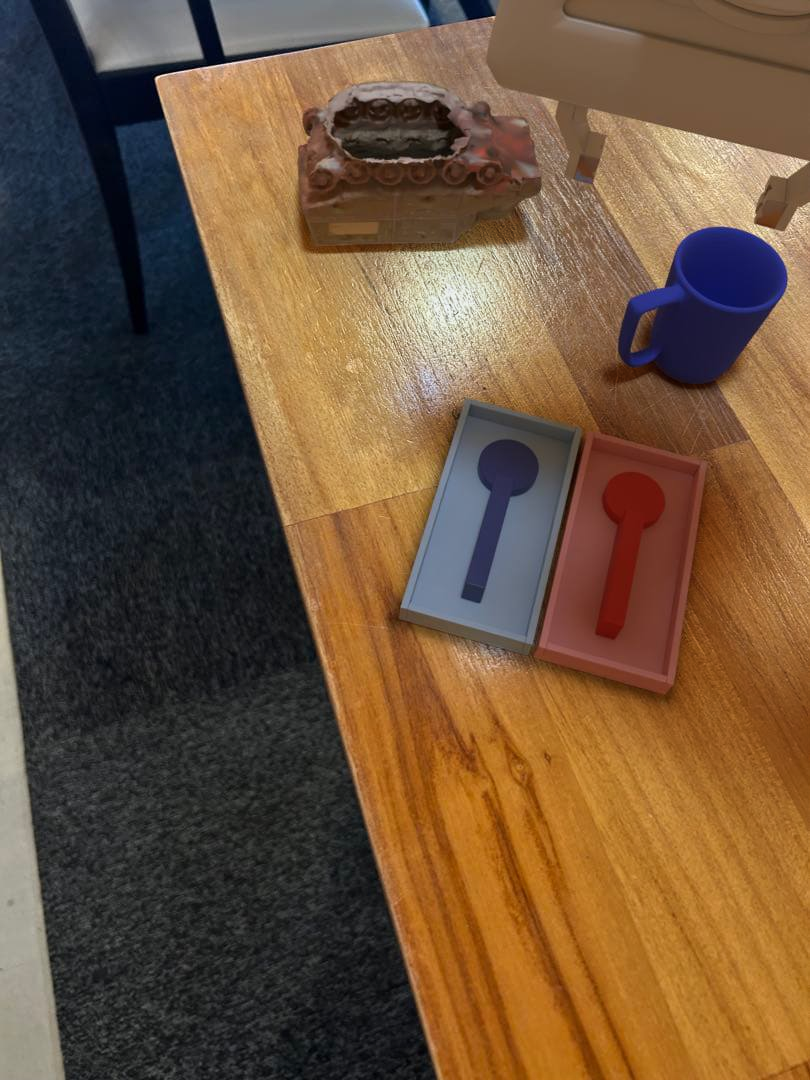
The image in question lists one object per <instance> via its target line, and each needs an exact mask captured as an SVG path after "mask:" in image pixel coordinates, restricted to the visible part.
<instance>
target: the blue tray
mask: <svg viewBox="0 0 810 1080" xmlns="http://www.w3.org/2000/svg"><path fill="white" fill-rule="evenodd" d="M455 427H456V428H455V431H454V434H453V437H452V441H451V443H450V447H449V450H448V453H447V456H446V460H445V462H444V467H443V469H442V472H441V476H440V479H439V482H438V484H437V485H438V486H437V489H436V492H435V494H434V498H433V501H432V504H431V507H430V510H429V514H428V518H427V521H426V523H425V526H424V530H423V533H422V536H421V539H420V542H419V546H418V549H417V553H416V556H415V559H414V562H413V565H412V568H411V571H410V574H409V577H408V581H407V584H406V588H405V591H404V594H403V597H402V601H401V604H400V607H399V615H398V620H401V621H404V622H408V623H412V624H415V625H418V626H422V627H426V628H429V629H433V630H436V631H439V632H442V633H447V634H450V635H453V636H458V637H461V638H463V639H467V640H471V641H475V642H478V643H482V644H485V645H489V646H492V647H494V648H495V647H496V648H499V649H502V650H505V651H509V652H513V653H516V654H519V655H523V656H528V655H529V653H530V651H531V649H532V647H533V644H534V640H535V637H536V632H537V627H538V623H539V619H540V615H541V610H542V606H543V602H544V598H545V593H546V589H547V584H548V581H549V580H548V579H549V576H550V572H551V567H552V563H553V558H554V555H555V550H556V545H557V543H558V537H559V533H560V528H561V525H562V520H563V515H564V512H565V507H566V502H567V498H568V495H569V494H568V493H569V489H570V485H571V481H572V477H573V473H574V468H575V464H576V460H577V455H578V451H579V447H580V443H581V438H582V434H583V428H582V427H578V426H575V425H572V424H571V425H570V424H567V423H563V422H560V421H556V420H551V419H549V418H545V417H541V416H537V415H533V414H529V413H525V412H521V411H519V410H514V409H511V408H506V407H503V406H499V405H495V404H491V403H488V402H484V401H481V400H477V399H472V398H469V397H465V398H464V402H463V405H462V408H461V412H460V415H459V418H458V421H457V424H456V426H455ZM502 439H510V440H516V441H519V442H521V443H523V444H525V445H526V446H528V447H529V448H530V449H531V450H532V451H533V452H534V454H535V455H536V457H537V460H538V463H539V471H538V475H537V477H536V480H535V483H534V485H533V486H532V487H531V488H530V489H529V490H528V491H527V492H525V493H523V494H521V495H518V496H513V497H510V500H509V504H508V508H507V511H506V515H505V518H504V522H503V526H502V529H501V533H500V537H499V540H498V544H497V548H496V551H495V555H494V559H493V562H492V566H491V570H490V573H489V577H488V581H487V584H486V588H485V591H484V594H483V597H482V600H481V603H477V602H474V601H470V600H467V599H463V598H461V595H462V591H463V588H464V584H465V581H466V577H467V574H468V570H469V567H470V563H471V560H472V556H473V553H474V549H475V546H476V542H477V539H478V535H479V532H480V528H481V525H482V521H483V518H484V514H485V511H486V507H487V504H488V500H489V497H490V493H491V491H490V490H488V489H487V488H486V487H485V486H484V485H483V484H482V482H481V480H480V479H479V476H478V471H477V466H478V462H479V458H480V455H481V452H482V451H483V449H484V448H485V447H486V446H487V445H489V444H490V443H492V442H494V441H497V440H502Z"/></svg>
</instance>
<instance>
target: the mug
mask: <svg viewBox="0 0 810 1080" xmlns="http://www.w3.org/2000/svg"><path fill="white" fill-rule="evenodd" d="M666 277H667V278H666V280H665V283H664V286H663V287H659V288H655V289H652V290H649V291H645V292H642V293H640V294H637V295H635V296H633V297H631V298H630V299H629V300H628V302H627V305H626V308H625V311H624V315H623V318H622V322H621V326H620V330H619V336H618V340H617V341H618V342H617V351H618V356H619V358H620V360H621V361H622V362H623V364H624V365H626V366H627V367H629V368H639V367H642V366H645V365H647V364H649V363H651V362H652V361H653V362H654V363H655V364H656V366H657V368H659V370H660V371H662V372H663V373H664V374H665V375H667V376H668V377H670V378H672V379H673V380H676V381H678V382H681V383H685V384H692V385H698V384H699V385H700V384H707V383H711V382H713V381H715V380H717V379H719V378H721V377H722V376H724V374H726V373H727V372H728V371H729V370H730V369H731V367H732V366H733V365H734V364H735V362H736V361H737V360H738V358H739V357H740V355H742V353H743V352H744V350H745V348H746V347H747V346H748V345H749V343H750V342H751V340H752V339H753V337H754V336H755V335H756V333H757V332H758V331H759V330H760V328H761V327H762V325H763V324H764V322H765V321H766V320H767V318H768V317H769V316H770V314H771V313H772V311H773V310H774V308H775V307H776V306H777V304H778V303H779V302H780V301H781V299H782V298H783V296H784V294H785V292H786V290H787V287H788V282H789V279H788V278H789V277H788V271H787V267H786V265H785V262H784V260H783V259H782V257H781V255H780V254H779V253H778V252H777V250H776V249H774V248H773V246H771V244H769V243H767V241H765V240H764V239H762V238H761V237H759V236H758V235H755V234H753V233H751V232H749V231H746V230H743V229H739V228H735V227H731V226H709V227H704V228H700V229H698V230H695V231H693V232H691V233H689V234H688V235H687V236H685V237H684V238H683V239H682V240H681V242H680V243H679V244H678V245H677V248H676V249H675V251H674V255H673V258H672V262H671V265H670V268H669V271H668V274H667V276H666ZM654 310H656V312H655V316H654V319H653V321H652V326H651V329H650V333H649V338H648V346H646V347H645V348H641V349H640V350H637V351H634V352H633V351H632V352H631V350H632V346H633V341H634V338H635V335H636V331H637V329H638V326H639V323H640V320H641V318H642V316H643V315H644V314H646V313H648V312H651V311H654Z"/></svg>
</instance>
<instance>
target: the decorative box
mask: <svg viewBox="0 0 810 1080" xmlns="http://www.w3.org/2000/svg"><path fill="white" fill-rule="evenodd" d="M326 105H327V107H321V106H312V107H309V108H307V109H305V110H304V111H303V113H302V120H301V123H302V128H303V130H304V133H305V135H306V136H307V137H309V138H308V139H307V143H305V144H300V145H298V147H297V156H298V157H297V161H296V164H297V175H298V189H299V198H300V204H301V207H300V213H302V214H303V215H304V220H305V222H306V224H307V226H308V230H309V236H310V240H311V243H313V245H314V246H315V247H317V248H319V247H325V246H326V247H331V246H352V245H353V246H354V245H355V246H356V245H381V244H388V245H389V244H391V245H395V244H432V243H434V244H435V243H436V244H439V243H440V244H441V243H443V244H444V243H451V244H453V243H455V242H456V241H457V240H458V238H459V237H461V236H462V235H463V234H464V233H466V232H469V231H471V230H473V229H474V228H475V227H476V226H477V224H478V222H496V221H502V220H506V219H507V218H508V217H510V215H511V216H512V215H513V214H514V209H515V208H516V207H517V206H518V205H519V204H520V203H521V202H522V201H525V200H526V199H527V200H528V199H531V198H534V197H536V196H537V195H539V194H540V193H541V191H542V187H543V182H542V178H543V177H542V176H543V173H542V172H541V170H540V168H539V163H538V161H537V156H536V151H535V150H536V143H535V141H534V140H533V138H532V136H531V132H530V129H531V128H530V124H529V121H528V119H527V118H526V117H525V116H522V115H498V116H497V115H492V112H491V106H490V104H489V102H488V101H487V100H486V99H485V100H483V99H475V100H468V101H467V100H466V101H464V100H463V99H462V98H461V96H459V95H458V94H455V93H454V92H453V91H451V90H449V89H448V88H447V87H443V86H441V85H438V84H435V83H430V82H427V81H420V80H418V81H414V80H403V79H401V80H397V81H396V80H395V81H393V80H390V81H388V80H378V81H374V80H373V81H370V82H369V81H368V82H361V83H358V84H352V85H350V86H347V88H344V89H342V90H340V91H338V92H337V93H335V94H334V95H333V96H332V97H331V98H330V99H328V100H327V103H326Z"/></svg>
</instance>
